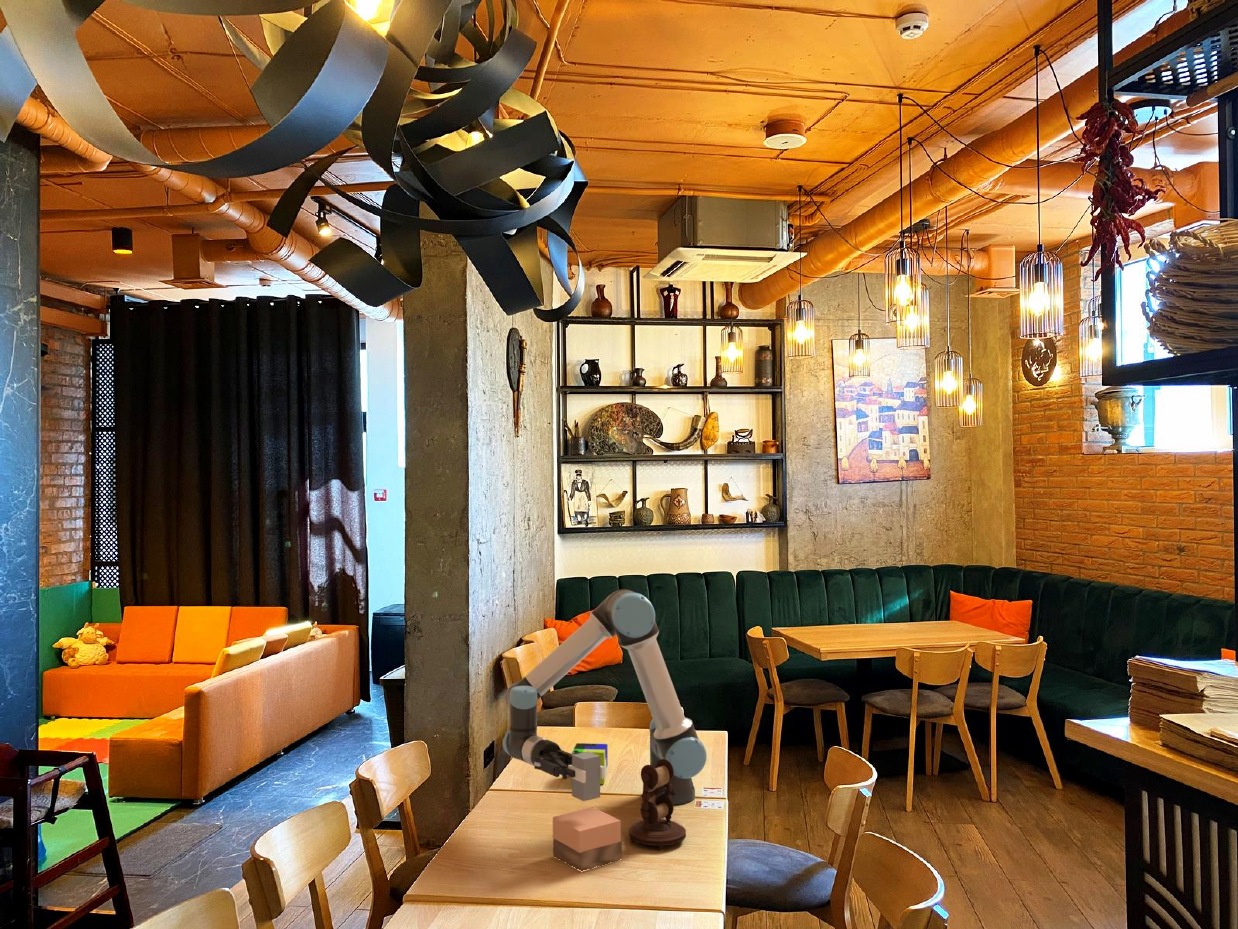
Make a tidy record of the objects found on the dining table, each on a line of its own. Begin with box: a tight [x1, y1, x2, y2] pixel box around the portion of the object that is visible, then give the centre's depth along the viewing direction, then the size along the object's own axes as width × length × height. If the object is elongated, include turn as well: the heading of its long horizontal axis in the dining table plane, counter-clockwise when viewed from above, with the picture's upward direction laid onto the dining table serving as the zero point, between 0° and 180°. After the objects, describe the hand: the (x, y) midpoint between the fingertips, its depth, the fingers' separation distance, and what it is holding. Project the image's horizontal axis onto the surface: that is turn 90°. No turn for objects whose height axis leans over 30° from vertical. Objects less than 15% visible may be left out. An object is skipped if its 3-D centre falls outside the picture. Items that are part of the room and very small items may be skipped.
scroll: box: [628, 759, 687, 851], centre depth 228 cm, size 15×15×20 cm
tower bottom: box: [552, 837, 623, 871], centre depth 216 cm, size 12×12×5 cm
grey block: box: [571, 752, 601, 802], centre depth 218 cm, size 5×5×10 cm
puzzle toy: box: [571, 742, 609, 785], centre depth 279 cm, size 10×10×10 cm
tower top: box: [552, 807, 622, 853], centre depth 217 cm, size 12×12×5 cm
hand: (593, 775), depth 215 cm, fingers closed on grey block, 5 cm apart
